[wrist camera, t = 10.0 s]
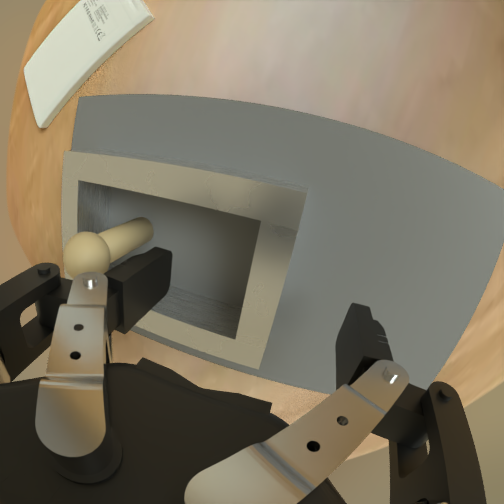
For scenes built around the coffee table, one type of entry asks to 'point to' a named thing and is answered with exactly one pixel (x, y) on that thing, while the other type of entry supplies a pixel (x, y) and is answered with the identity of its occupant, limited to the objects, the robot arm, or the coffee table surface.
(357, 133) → the board
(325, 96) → the coffee table surface
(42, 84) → the external hard drive
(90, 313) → the robot arm
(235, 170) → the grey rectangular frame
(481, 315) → the coffee table surface
